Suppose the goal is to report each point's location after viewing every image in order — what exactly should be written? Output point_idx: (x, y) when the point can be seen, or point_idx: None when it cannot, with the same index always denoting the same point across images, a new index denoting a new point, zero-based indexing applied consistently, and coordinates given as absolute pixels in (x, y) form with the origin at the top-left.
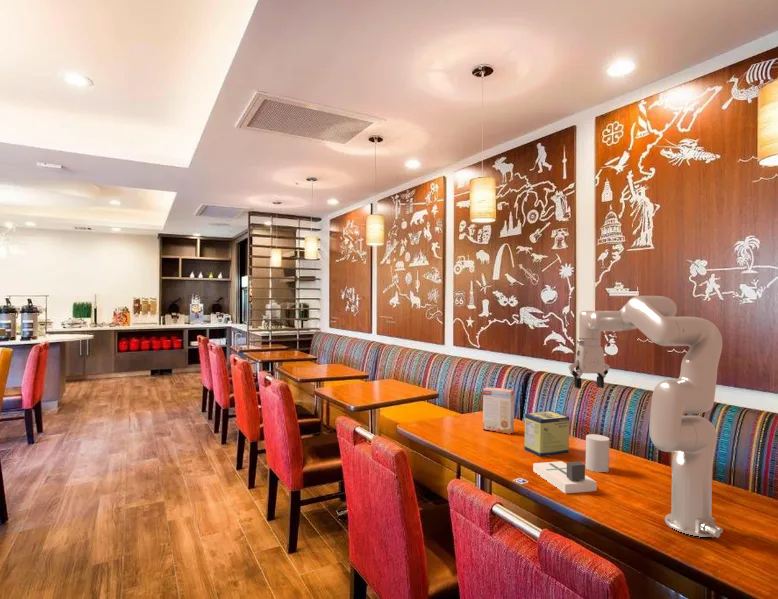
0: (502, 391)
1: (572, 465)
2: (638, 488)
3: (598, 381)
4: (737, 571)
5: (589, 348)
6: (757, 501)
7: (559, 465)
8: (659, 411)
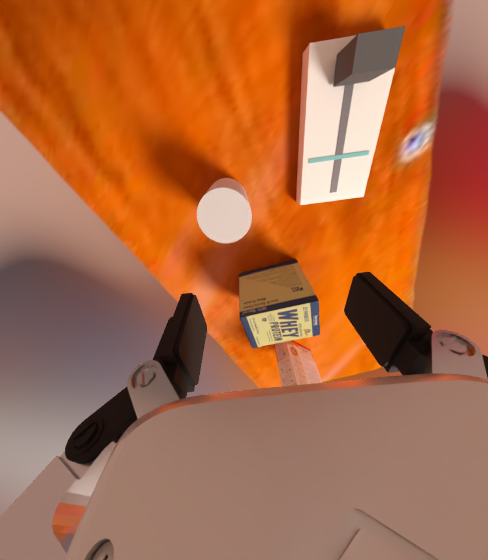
0: None
1: (402, 28)
2: (192, 62)
3: (197, 345)
4: None
5: None
6: None
7: (320, 180)
8: None
